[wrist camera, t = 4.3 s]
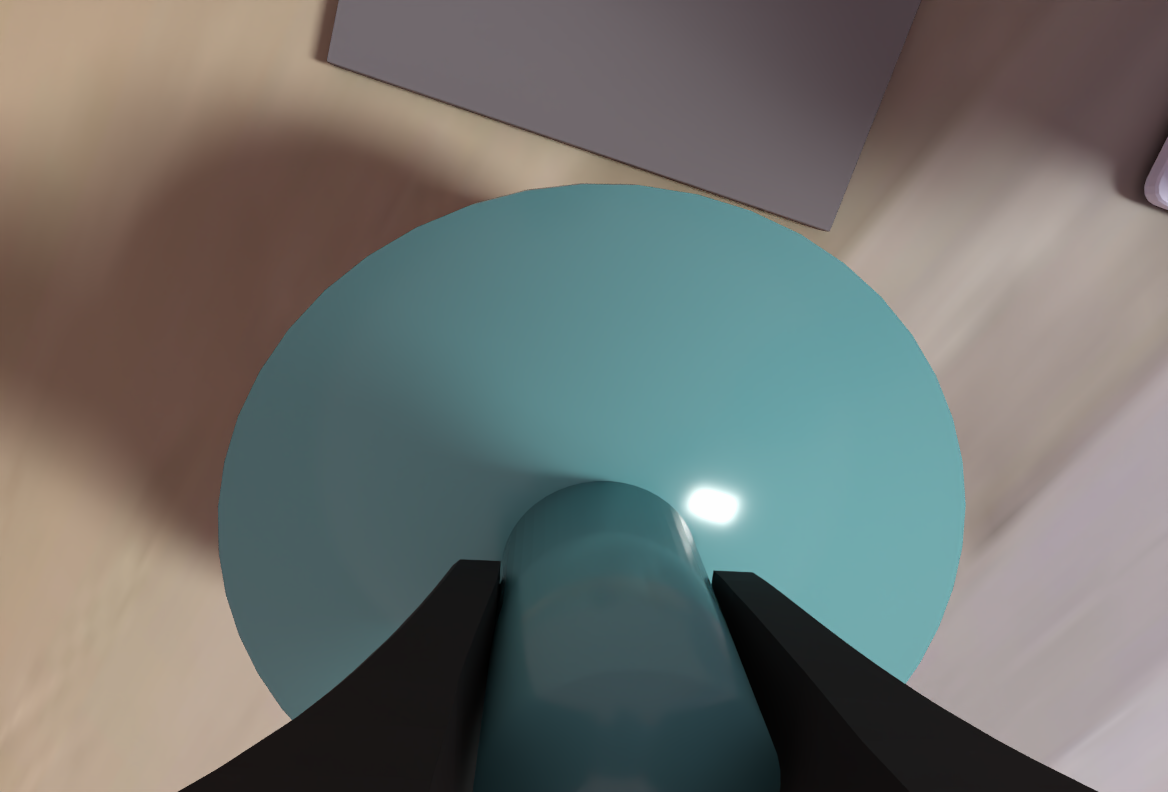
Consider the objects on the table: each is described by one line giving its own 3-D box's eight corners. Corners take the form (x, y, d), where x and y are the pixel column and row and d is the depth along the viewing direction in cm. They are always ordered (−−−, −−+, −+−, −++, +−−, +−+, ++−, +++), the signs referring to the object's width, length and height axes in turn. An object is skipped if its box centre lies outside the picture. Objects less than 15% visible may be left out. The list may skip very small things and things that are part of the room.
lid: (1023, 219, 10) (1424, 257, 6) (857, 814, 14) (1014, 1142, 9) (210, 146, 10) (-131, 119, 5) (262, 799, 13) (100, 1152, 8)
